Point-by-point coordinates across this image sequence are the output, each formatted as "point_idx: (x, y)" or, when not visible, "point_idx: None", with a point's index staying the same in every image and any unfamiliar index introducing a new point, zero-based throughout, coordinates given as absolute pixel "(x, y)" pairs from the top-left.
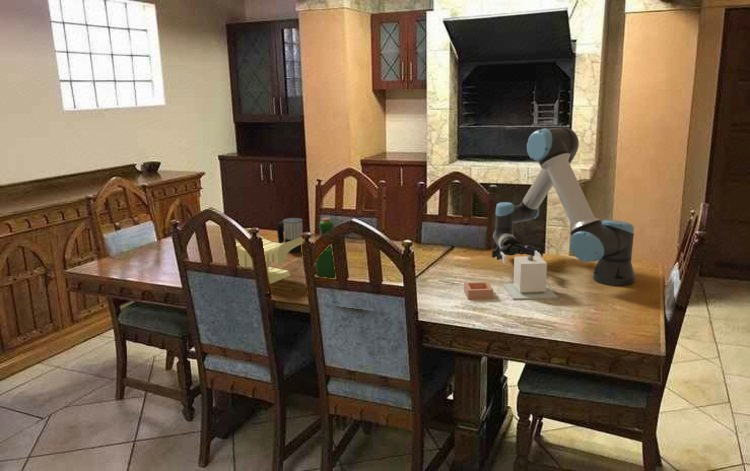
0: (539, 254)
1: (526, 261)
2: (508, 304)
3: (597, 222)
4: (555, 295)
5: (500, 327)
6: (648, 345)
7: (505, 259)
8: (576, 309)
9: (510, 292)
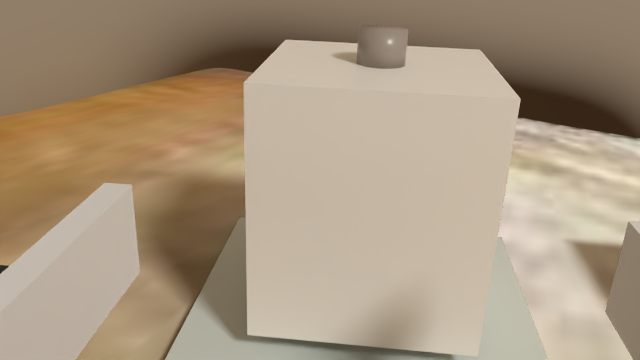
0: (101, 200)
1: (424, 58)
2: (529, 219)
3: None
4: (239, 227)
5: (561, 135)
6: (206, 75)
7: (625, 264)
8: (234, 162)
9: (511, 290)
